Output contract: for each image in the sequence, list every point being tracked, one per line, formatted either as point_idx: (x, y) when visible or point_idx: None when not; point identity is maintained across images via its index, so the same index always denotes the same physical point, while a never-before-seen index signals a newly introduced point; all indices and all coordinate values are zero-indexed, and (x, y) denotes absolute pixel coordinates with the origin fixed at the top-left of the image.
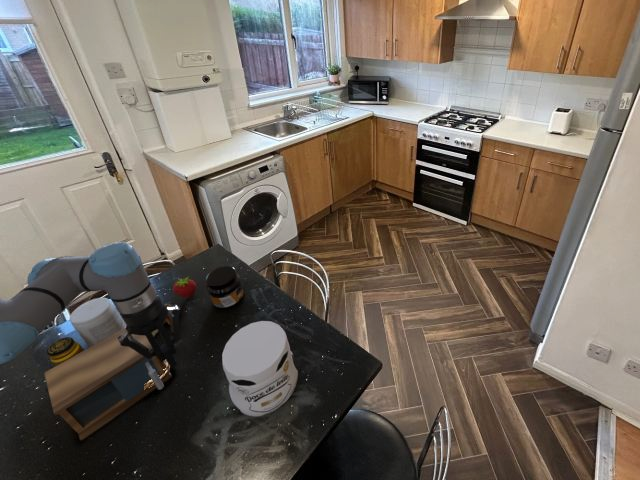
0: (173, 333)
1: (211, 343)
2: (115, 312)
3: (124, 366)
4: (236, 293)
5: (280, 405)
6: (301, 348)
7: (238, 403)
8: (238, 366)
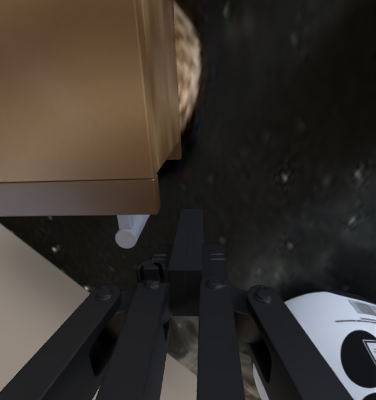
0: (271, 392)
1: (309, 130)
2: None
3: (18, 204)
4: None
5: None
6: None
7: (260, 396)
8: None
